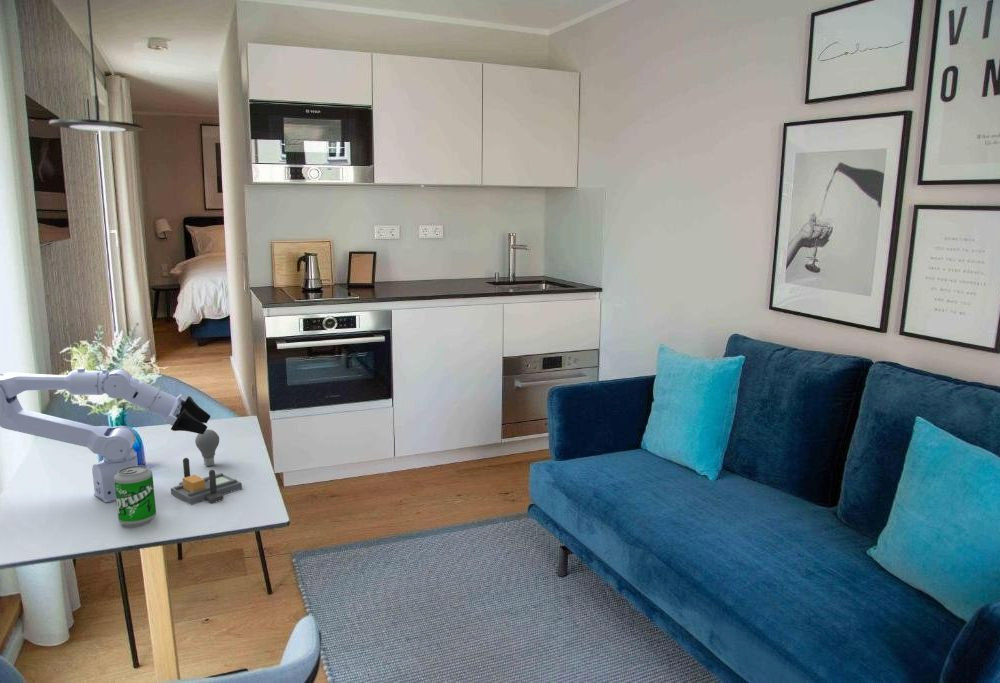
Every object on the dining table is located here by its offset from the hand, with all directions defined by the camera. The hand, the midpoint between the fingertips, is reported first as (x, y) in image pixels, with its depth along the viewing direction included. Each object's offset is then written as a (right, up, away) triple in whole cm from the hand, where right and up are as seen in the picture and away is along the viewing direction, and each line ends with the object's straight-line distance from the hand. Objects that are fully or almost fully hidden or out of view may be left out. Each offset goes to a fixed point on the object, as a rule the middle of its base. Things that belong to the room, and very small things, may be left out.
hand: (207, 425), depth 179 cm
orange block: (-1, -15, -6) cm, 16 cm away
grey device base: (+1, -16, -3) cm, 16 cm away
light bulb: (-5, -13, +15) cm, 20 cm away
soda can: (-7, -19, -20) cm, 29 cm away
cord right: (+5, -15, -9) cm, 18 cm away
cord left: (-5, -14, 0) cm, 14 cm away
